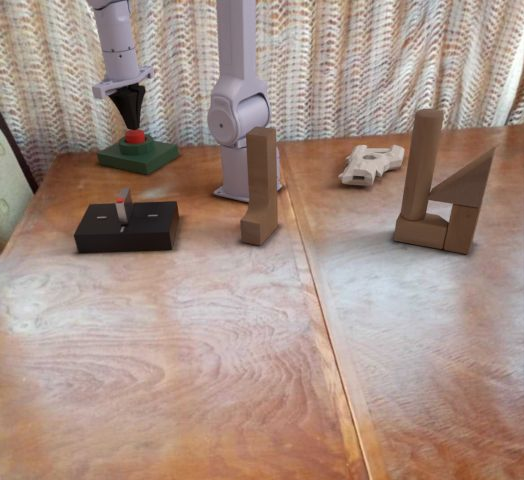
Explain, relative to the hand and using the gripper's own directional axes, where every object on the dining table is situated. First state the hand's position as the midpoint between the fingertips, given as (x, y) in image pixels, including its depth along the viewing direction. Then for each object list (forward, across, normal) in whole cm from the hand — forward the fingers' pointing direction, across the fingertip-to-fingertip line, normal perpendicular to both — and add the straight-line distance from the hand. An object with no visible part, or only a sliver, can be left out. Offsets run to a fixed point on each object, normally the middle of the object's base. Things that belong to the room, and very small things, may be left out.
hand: (133, 128), depth 102 cm
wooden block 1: (+6, +15, +36) cm, 39 cm away
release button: (+3, 0, 0) cm, 3 cm away
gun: (+6, -14, +43) cm, 46 cm away
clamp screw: (+3, +24, +18) cm, 30 cm away
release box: (+6, 0, 0) cm, 6 cm away
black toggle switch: (+6, +24, +18) cm, 31 cm away
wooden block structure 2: (+6, +6, +60) cm, 61 cm away
